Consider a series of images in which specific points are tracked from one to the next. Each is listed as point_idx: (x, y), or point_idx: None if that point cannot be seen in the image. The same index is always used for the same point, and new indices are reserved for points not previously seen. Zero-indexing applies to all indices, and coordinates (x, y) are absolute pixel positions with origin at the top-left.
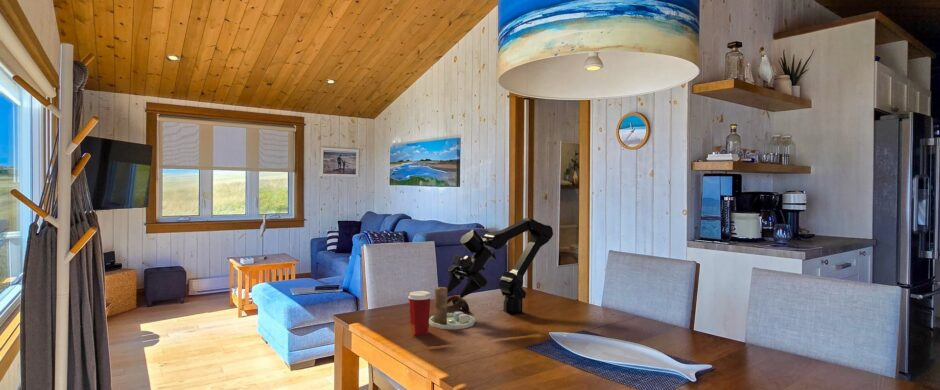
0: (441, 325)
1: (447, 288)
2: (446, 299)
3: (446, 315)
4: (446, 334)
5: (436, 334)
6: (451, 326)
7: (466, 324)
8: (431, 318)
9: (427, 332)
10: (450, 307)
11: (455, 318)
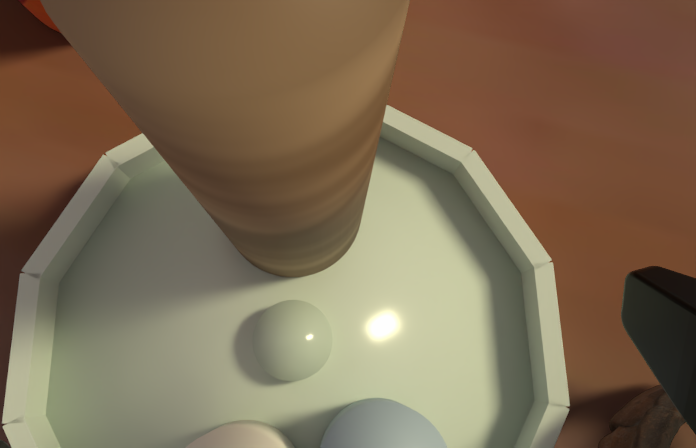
0: (104, 156)
1: (693, 299)
2: (168, 161)
3: (231, 239)
4: (3, 190)
5: (47, 106)
6: (38, 251)
7: (11, 443)
8: (394, 128)
9: (25, 6)
10: (639, 425)
11: (352, 406)
